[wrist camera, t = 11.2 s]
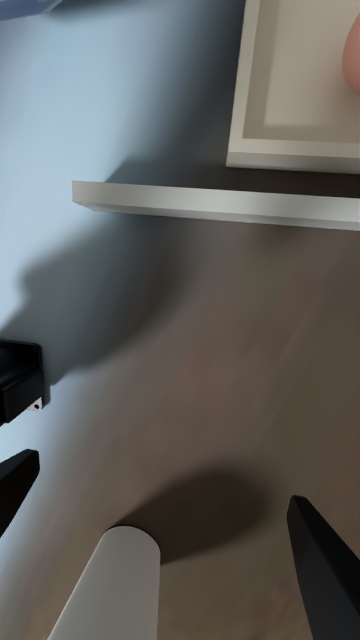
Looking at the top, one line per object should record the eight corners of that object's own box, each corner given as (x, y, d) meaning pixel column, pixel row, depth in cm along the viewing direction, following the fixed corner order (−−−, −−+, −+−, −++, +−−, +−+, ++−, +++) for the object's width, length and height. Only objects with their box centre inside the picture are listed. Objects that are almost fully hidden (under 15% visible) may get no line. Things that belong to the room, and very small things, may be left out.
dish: (225, 166, 17) (228, 151, 14) (249, -37, 14) (257, -96, 12) (389, 175, 16) (420, 160, 13) (447, -41, 13) (498, -106, 11)
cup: (182, 575, 26) (161, 825, 15) (107, 582, 28) (35, 811, 16) (155, 510, 24) (108, 734, 13) (77, 520, 26) (-28, 728, 15)
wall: (94, 210, 18) (72, 201, 15) (94, 193, 18) (72, 180, 15) (378, 232, 16) (415, 226, 14) (384, 212, 16) (422, 202, 13)
